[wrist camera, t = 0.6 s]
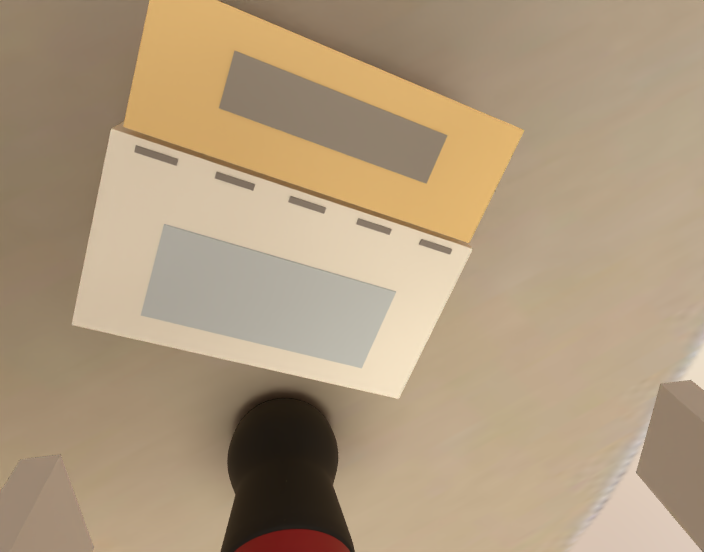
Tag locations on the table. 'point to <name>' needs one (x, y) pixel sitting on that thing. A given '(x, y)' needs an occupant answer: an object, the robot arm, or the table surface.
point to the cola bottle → (284, 482)
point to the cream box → (259, 269)
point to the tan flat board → (314, 117)
